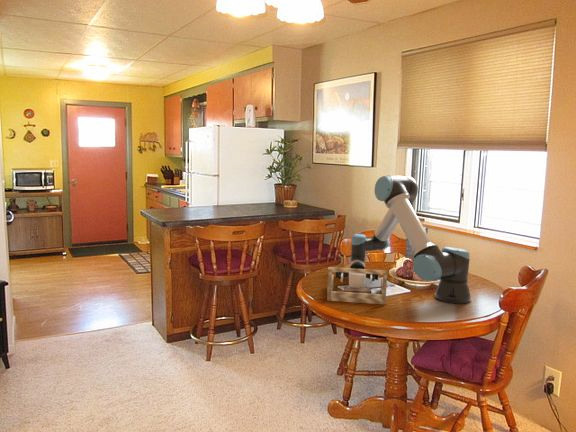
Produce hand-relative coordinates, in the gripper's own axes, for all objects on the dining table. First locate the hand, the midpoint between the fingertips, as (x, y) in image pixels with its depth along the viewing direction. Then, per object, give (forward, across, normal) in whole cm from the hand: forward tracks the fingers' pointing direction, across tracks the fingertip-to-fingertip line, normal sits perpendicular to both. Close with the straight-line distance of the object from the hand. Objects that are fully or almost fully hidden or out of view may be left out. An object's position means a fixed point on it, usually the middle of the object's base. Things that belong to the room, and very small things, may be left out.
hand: (356, 280), depth 220 cm
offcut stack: (+9, 0, -6) cm, 11 cm away
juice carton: (-46, -31, -6) cm, 56 cm away
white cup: (+1, 0, -6) cm, 6 cm away
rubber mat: (-18, -8, -6) cm, 20 cm away
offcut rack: (+3, 0, -6) cm, 7 cm away
